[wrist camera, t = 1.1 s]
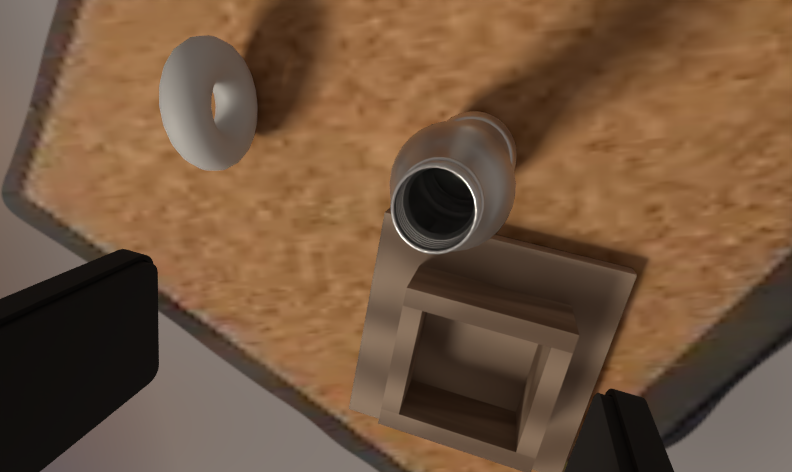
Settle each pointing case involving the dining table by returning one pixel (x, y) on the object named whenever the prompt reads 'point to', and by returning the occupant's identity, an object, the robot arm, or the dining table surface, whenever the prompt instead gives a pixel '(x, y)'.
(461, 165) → the plastic bottle
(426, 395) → the bottle stand
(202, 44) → the donut
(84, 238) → the dining table surface
